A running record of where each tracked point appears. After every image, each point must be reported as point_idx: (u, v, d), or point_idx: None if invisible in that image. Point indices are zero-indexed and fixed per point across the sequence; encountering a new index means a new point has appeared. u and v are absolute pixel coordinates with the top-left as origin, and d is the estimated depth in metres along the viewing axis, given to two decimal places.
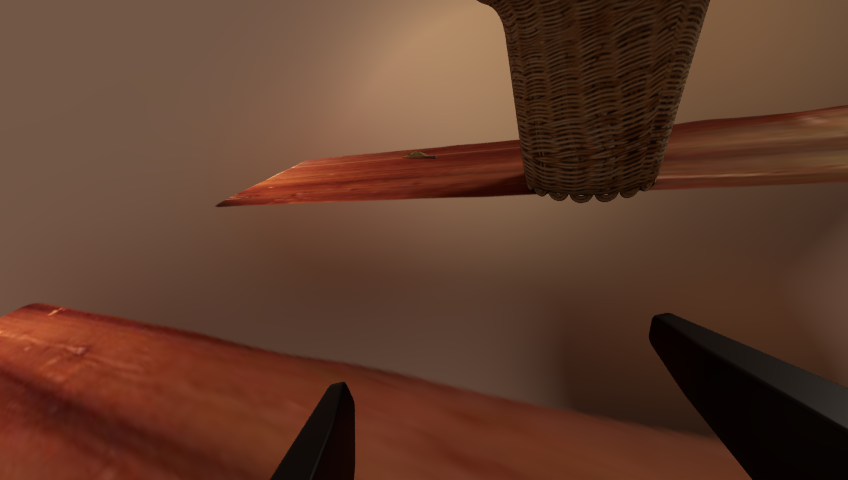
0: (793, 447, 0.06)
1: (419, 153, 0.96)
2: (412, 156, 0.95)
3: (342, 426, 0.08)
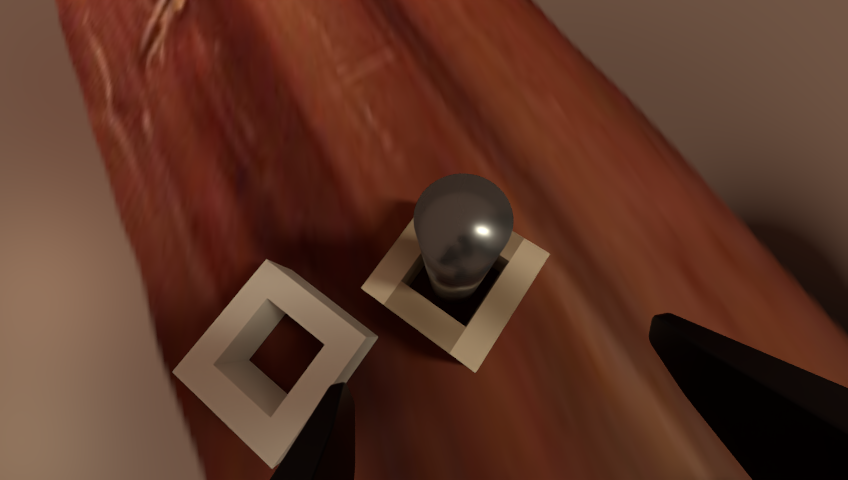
0: (793, 448, 0.06)
1: None
2: None
3: (342, 426, 0.08)
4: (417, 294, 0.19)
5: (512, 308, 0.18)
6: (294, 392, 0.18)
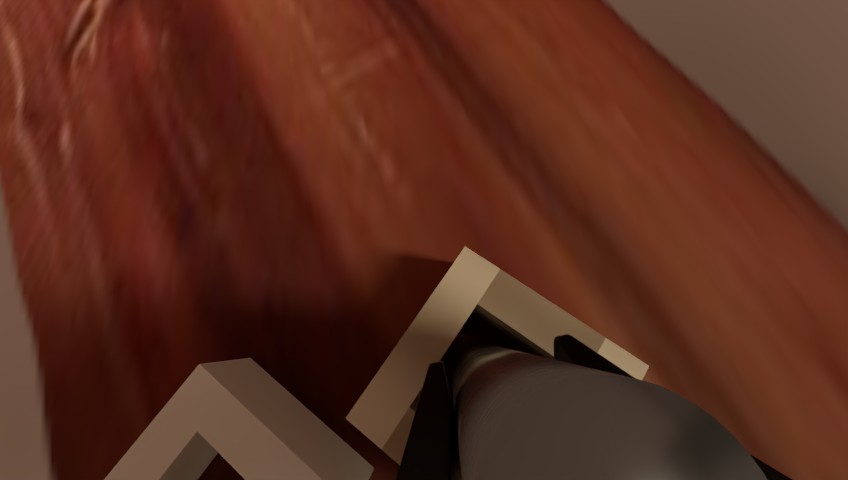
0: None
1: None
2: None
3: (451, 403, 0.08)
4: None
5: None
6: None
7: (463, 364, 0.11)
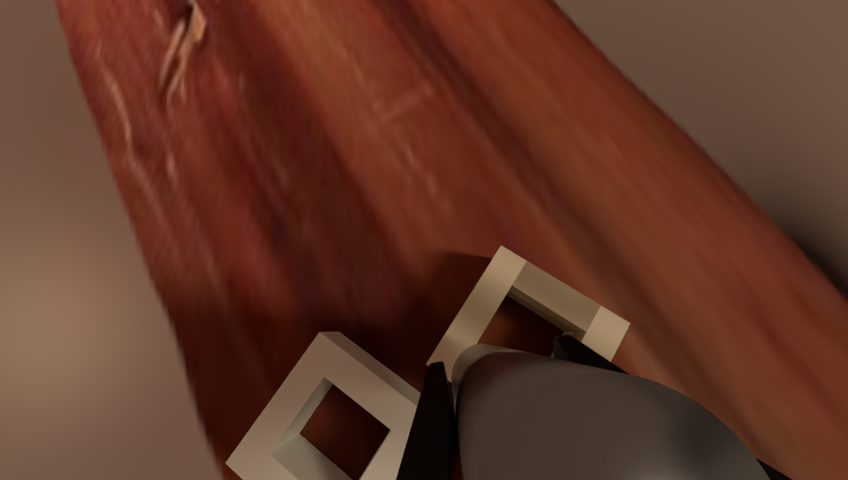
0: None
1: None
2: None
3: (451, 403, 0.08)
4: None
5: None
6: None
7: (463, 363, 0.11)
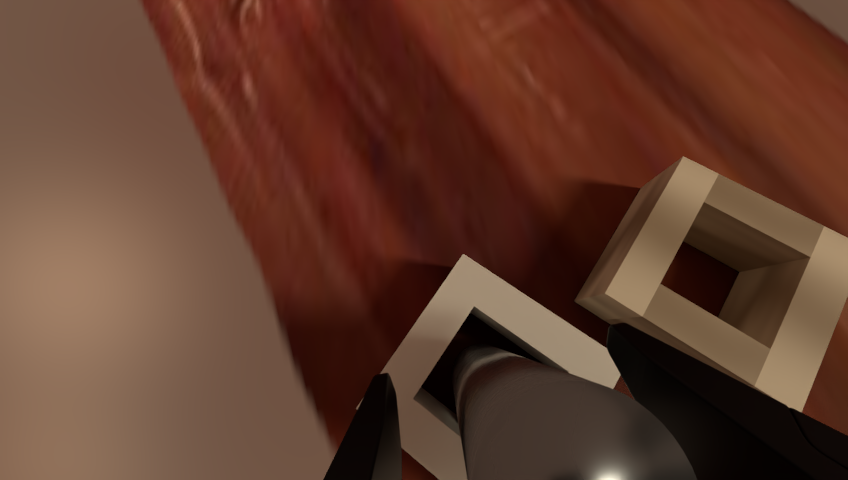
0: (729, 462, 0.06)
1: None
2: None
3: (390, 416, 0.08)
4: (688, 302, 0.14)
5: (831, 322, 0.13)
6: None
7: (463, 364, 0.13)
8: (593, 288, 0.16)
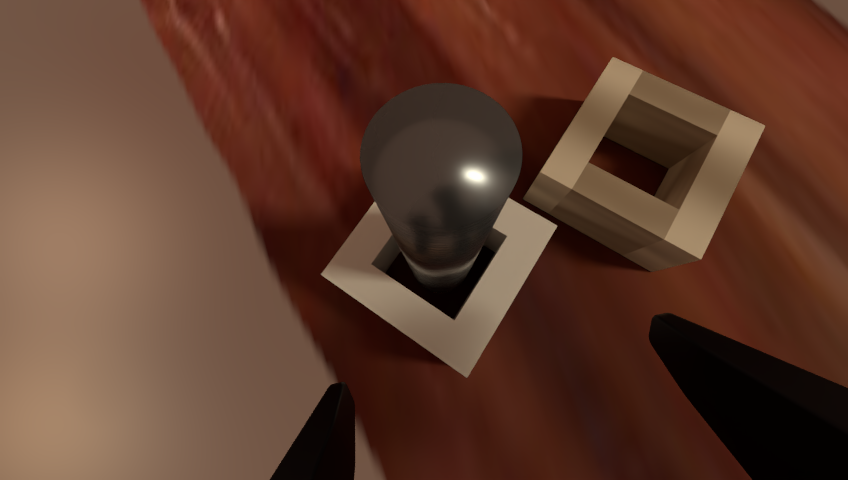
0: (793, 448, 0.06)
1: None
2: None
3: (342, 426, 0.08)
4: (611, 176, 0.16)
5: (731, 186, 0.15)
6: (479, 291, 0.14)
7: None
8: None
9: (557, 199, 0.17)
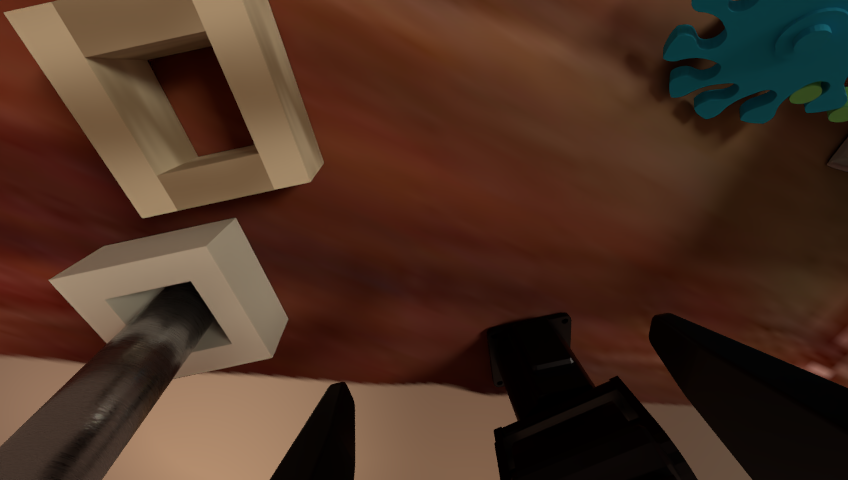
0: (793, 447, 0.06)
1: None
2: None
3: (342, 426, 0.08)
4: (185, 171, 0.14)
5: (271, 87, 0.13)
6: (222, 321, 0.18)
7: None
8: None
9: None
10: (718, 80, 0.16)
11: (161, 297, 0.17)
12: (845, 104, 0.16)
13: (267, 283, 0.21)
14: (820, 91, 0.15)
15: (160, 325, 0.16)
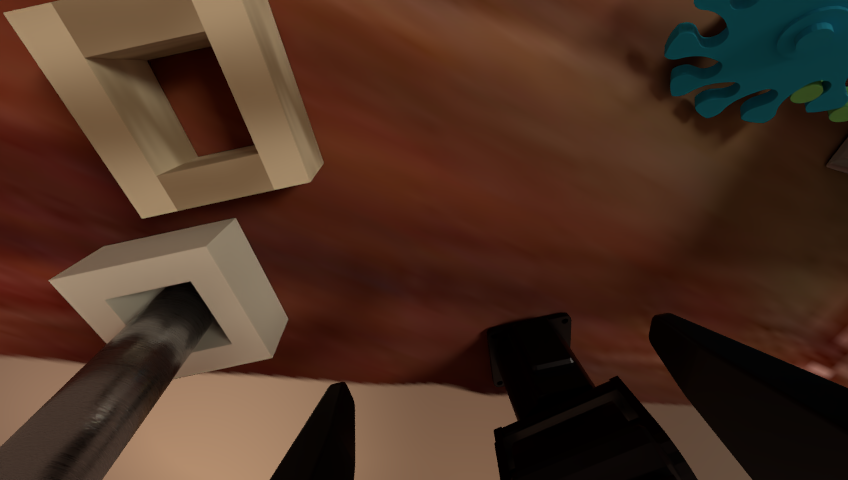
0: (793, 447, 0.06)
1: None
2: None
3: (342, 426, 0.08)
4: (185, 171, 0.14)
5: (271, 87, 0.13)
6: (222, 321, 0.18)
7: None
8: None
9: None
10: (719, 79, 0.16)
11: (161, 297, 0.17)
12: (846, 104, 0.15)
13: (267, 283, 0.21)
14: (821, 90, 0.15)
15: (160, 325, 0.16)
